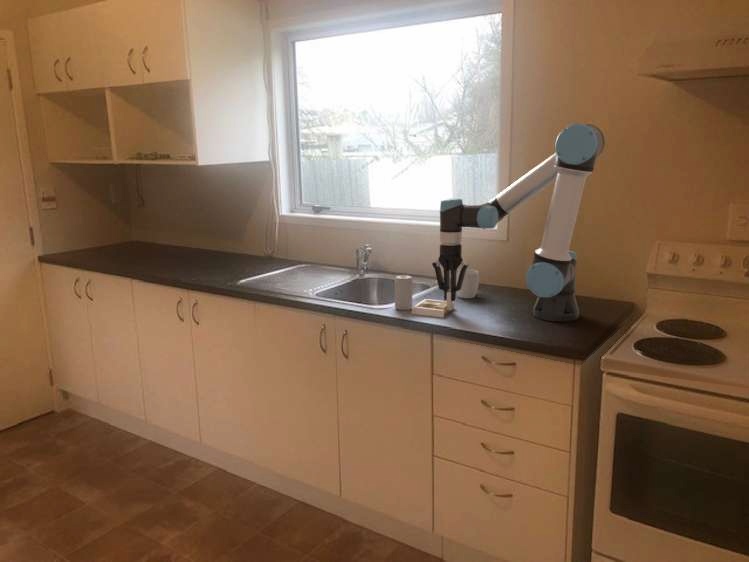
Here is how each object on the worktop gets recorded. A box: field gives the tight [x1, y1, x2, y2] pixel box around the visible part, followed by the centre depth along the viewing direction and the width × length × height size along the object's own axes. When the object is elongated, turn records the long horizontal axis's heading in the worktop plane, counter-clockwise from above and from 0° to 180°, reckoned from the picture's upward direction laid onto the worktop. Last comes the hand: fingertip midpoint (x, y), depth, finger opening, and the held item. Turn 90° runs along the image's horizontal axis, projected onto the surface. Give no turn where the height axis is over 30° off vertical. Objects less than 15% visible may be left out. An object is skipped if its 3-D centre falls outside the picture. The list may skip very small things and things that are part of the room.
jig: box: [411, 298, 456, 318], centre depth 222 cm, size 12×12×2 cm
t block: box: [423, 300, 451, 316], centre depth 221 cm, size 9×9×3 cm
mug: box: [456, 268, 480, 299], centre depth 243 cm, size 13×9×10 cm
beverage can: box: [394, 274, 414, 312], centre depth 225 cm, size 6×6×12 cm
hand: (449, 309), depth 219 cm, fingers closed
